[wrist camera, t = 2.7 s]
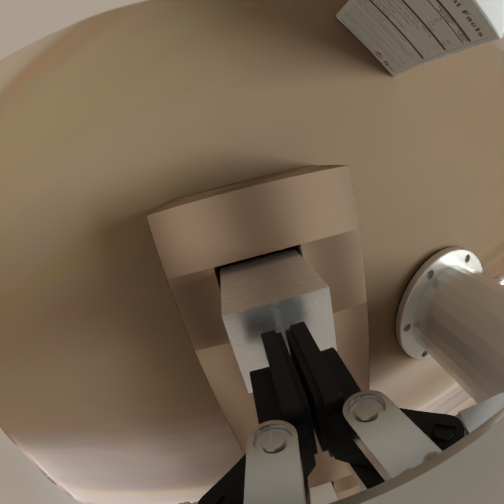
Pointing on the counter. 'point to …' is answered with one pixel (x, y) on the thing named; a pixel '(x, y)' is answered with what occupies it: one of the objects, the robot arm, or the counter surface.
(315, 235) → the walnut block
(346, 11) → the supplement box
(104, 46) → the counter surface
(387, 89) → the counter surface
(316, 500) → the white peg
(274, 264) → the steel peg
